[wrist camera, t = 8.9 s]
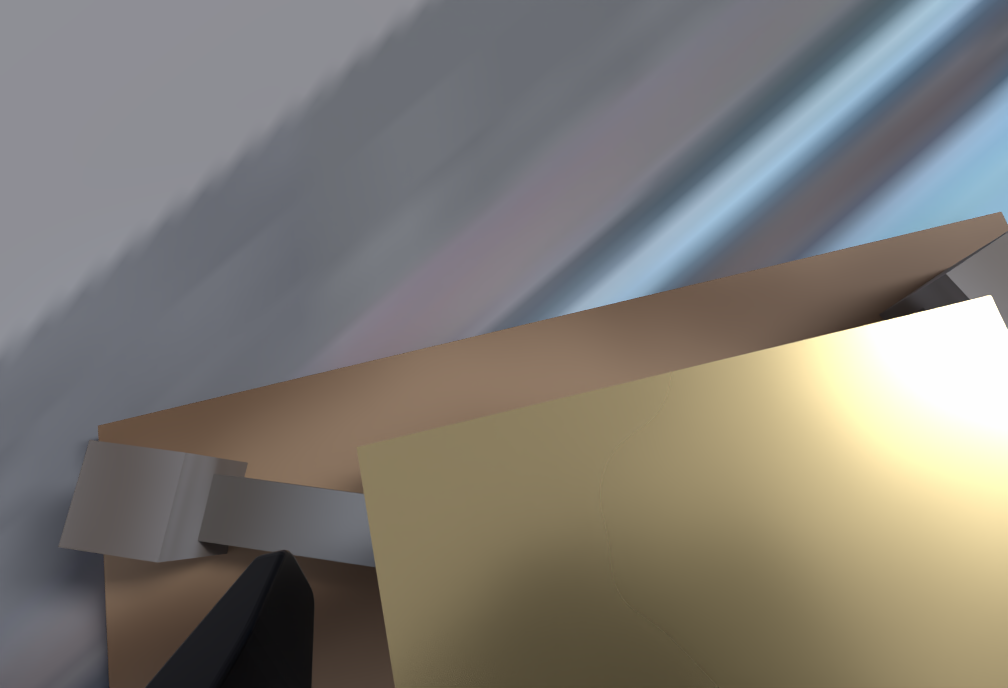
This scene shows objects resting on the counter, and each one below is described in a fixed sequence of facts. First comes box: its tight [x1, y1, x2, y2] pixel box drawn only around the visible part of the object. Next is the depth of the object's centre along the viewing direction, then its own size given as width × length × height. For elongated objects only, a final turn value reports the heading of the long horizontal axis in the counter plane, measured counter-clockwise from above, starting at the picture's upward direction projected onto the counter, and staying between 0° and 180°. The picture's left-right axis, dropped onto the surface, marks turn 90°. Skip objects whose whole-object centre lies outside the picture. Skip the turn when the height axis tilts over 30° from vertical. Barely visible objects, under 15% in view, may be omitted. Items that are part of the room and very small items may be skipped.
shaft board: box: [58, 212, 1008, 688], centre depth 15 cm, size 13×26×4 cm, turn 102°
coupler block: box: [357, 295, 1008, 688], centre depth 10 cm, size 4×4×13 cm
